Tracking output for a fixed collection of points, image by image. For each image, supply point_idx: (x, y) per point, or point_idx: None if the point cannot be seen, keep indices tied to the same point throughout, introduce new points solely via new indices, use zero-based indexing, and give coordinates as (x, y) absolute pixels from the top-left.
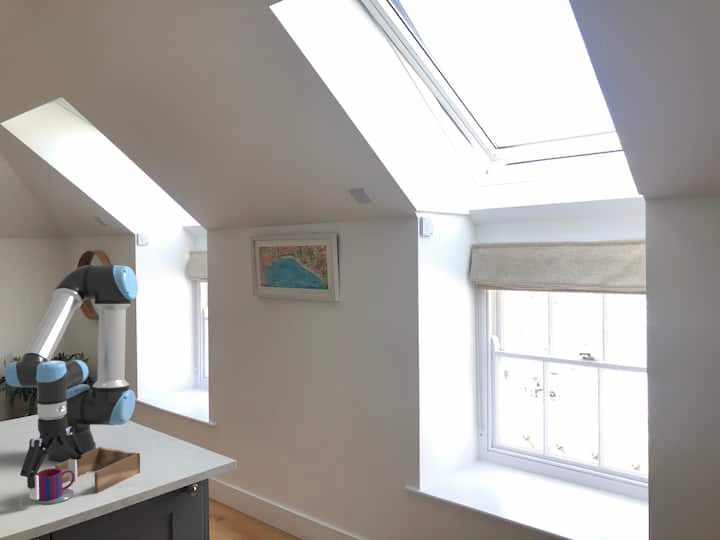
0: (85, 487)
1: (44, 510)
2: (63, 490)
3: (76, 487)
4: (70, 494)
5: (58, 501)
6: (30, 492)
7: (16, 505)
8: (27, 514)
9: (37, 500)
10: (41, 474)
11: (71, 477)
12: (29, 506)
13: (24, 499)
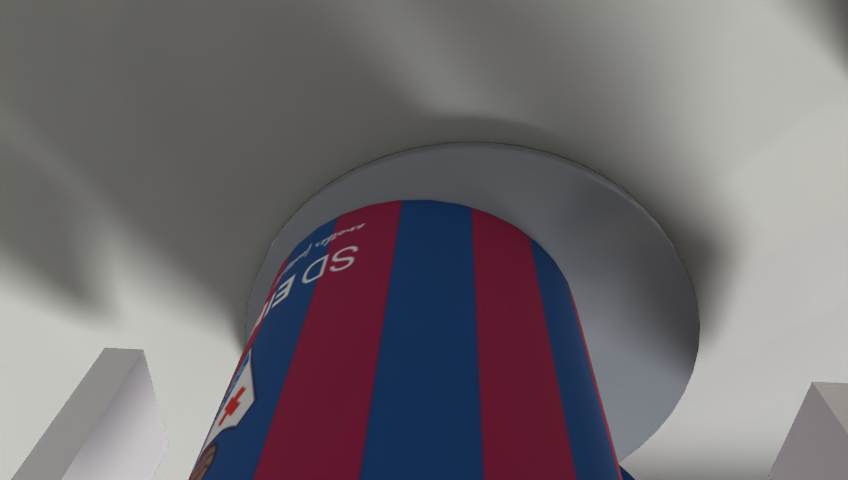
0: None
1: (179, 456)
2: (628, 355)
3: (806, 361)
4: None
5: None
6: (64, 428)
7: (65, 106)
8: (27, 392)
9: (262, 297)
10: (407, 463)
11: (825, 474)
12: (149, 276)
13: (253, 38)
